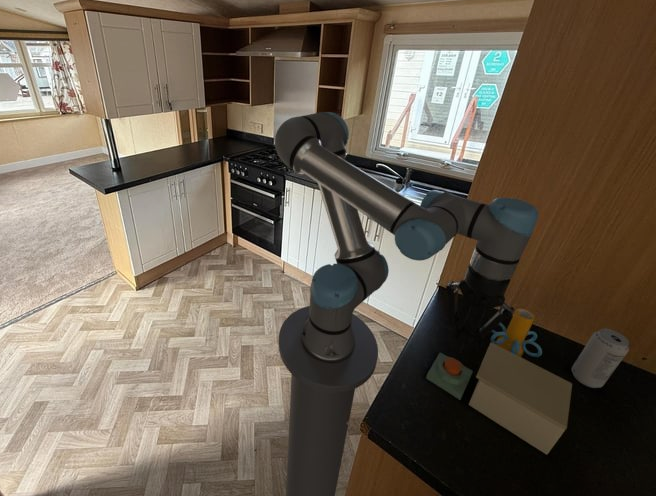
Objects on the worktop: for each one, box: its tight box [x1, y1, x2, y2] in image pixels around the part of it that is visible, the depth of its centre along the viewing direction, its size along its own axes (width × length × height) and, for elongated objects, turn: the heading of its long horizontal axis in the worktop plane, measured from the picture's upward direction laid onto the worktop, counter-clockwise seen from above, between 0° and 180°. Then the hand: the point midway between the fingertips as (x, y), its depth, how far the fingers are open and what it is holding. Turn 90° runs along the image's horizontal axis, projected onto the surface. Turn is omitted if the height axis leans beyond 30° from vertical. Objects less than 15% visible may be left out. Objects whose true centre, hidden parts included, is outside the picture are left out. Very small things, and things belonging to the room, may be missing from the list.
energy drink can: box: [571, 328, 630, 389], centre depth 76 cm, size 6×6×15 cm
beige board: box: [475, 341, 573, 431], centre depth 69 cm, size 15×13×1 cm
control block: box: [425, 352, 473, 401], centre depth 79 cm, size 8×9×4 cm
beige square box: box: [468, 379, 566, 456], centre depth 71 cm, size 15×13×9 cm
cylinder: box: [490, 307, 543, 358], centre depth 82 cm, size 12×10×15 cm
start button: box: [444, 357, 462, 375], centre depth 78 cm, size 4×4×2 cm
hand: (458, 348), depth 75 cm, fingers closed
